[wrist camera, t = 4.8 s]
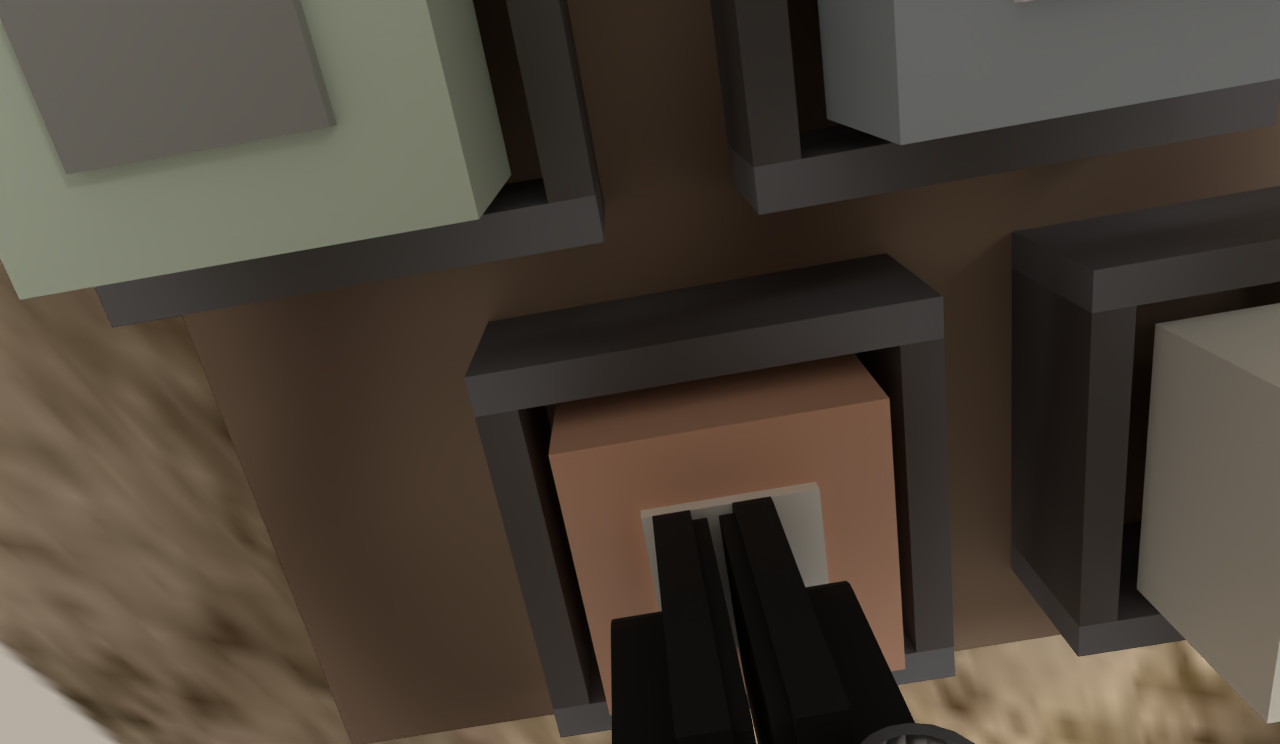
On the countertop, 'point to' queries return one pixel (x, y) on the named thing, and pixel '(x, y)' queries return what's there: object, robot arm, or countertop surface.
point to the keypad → (722, 345)
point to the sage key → (233, 131)
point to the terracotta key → (733, 484)
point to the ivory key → (1217, 495)
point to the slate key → (1030, 58)
